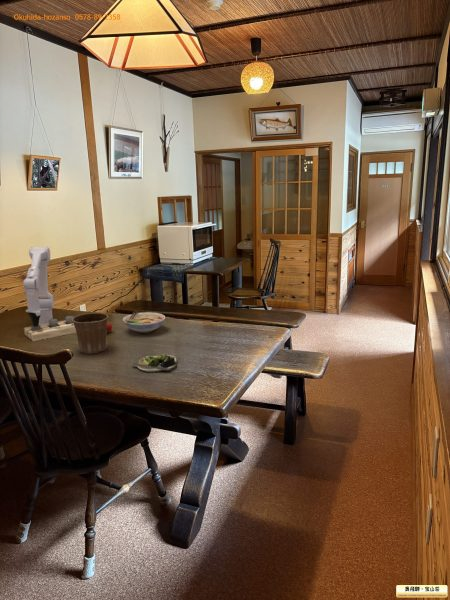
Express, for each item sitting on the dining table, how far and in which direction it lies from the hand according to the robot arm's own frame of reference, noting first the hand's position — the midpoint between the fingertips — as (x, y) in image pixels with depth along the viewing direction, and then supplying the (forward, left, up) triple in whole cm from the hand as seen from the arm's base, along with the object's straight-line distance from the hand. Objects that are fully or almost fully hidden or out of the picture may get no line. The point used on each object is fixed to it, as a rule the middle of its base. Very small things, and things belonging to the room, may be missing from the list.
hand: (35, 326), depth 227 cm
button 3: (0, +18, -3) cm, 18 cm away
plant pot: (+40, +14, -5) cm, 43 cm away
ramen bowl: (+30, +48, -5) cm, 56 cm away
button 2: (0, +9, -3) cm, 9 cm away
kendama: (+21, +24, -5) cm, 32 cm away
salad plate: (+77, +28, -6) cm, 82 cm away
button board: (+1, +9, -5) cm, 10 cm away
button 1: (0, 0, -4) cm, 4 cm away
